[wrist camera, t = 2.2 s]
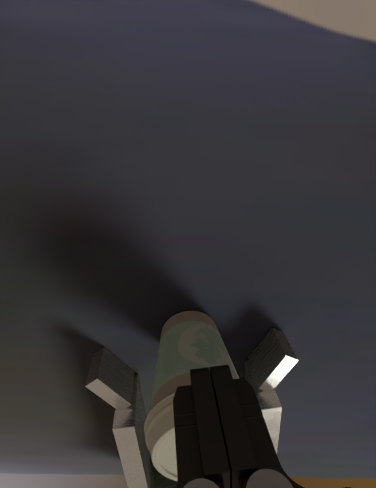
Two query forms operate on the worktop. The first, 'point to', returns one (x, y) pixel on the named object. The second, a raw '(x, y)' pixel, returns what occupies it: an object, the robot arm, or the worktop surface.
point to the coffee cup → (179, 379)
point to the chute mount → (133, 412)
